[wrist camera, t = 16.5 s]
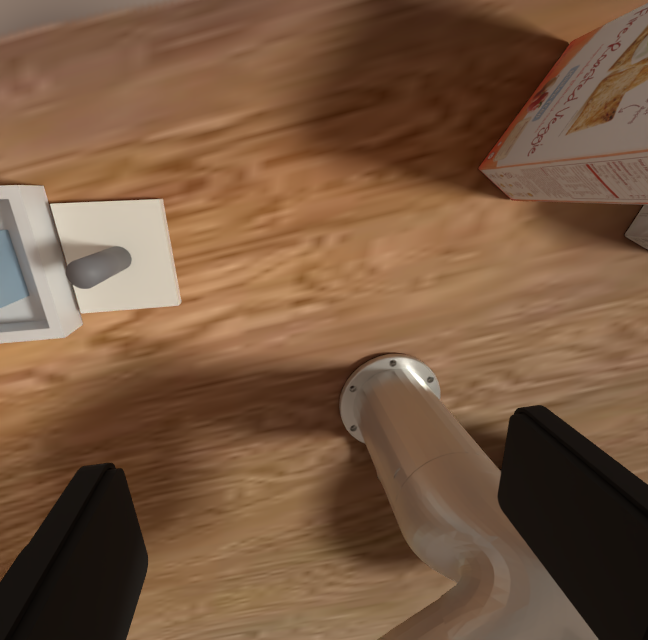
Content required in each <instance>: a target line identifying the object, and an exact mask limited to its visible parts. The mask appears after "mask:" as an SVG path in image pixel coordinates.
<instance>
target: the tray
mask: <svg viewBox="0 0 648 640" xmlns="http://www.w3.org/2000/svg"><path fill="white" fill-rule="evenodd" d="M0 230H8V231H9V234H10V237H11V240H12V244H13V247H14V250H15V253H16V256H17V259H18V262H19V265H20V268H21V271H22V274H23V277H24V280H25V283H26V286H27V289H28V292H29V295H30V296H27V297H25V298H23V299H21V300H18V301H16V302H14V303H11V304H9V305H7V306H5V307H2V308H0V343H10V342H21V341H32V340H44V339H55V338H65V337H67V336H68V335H69V334H71V333H72V332H73V331H75V330H76V329H78V328H79V327H80V326H82V325H83V322H82V319H81V315H80V312H79V308H78V305H77V301H76V298H75V294H74V291H73V287H72V284H71V283H70V282H69V280H68V279H67V276H66V268H67V266H66V263H65V259H64V256H63V252H62V249H61V245H60V242H59V238H58V234H57V231H56V227H55V224H54V220H53V217H52V213H51V210H50V206H49V203H48V199H47V196H46V192H45V189H44V186H33V185H4V186H0Z"/></svg>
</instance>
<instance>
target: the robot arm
mask: <svg viewBox="0 0 648 640" xmlns="http://www.w3.org/2000/svg"><path fill="white" fill-rule="evenodd" d="M391 360H392V361H391ZM390 361H391V362H390ZM339 409H340V415H341V418H342V421H343V424H344V426H345V428H346V429H347V431H348V432H349V433H350V434H351V435H352V436H353V437H354V438H355V439H357V440H358V441H360V442H362V443H364V444H366V446H367V449H368V451H369V454H370V456H371V458H372V461H373V463H374V466H375V468H376V471H377V478H378V479H379V480H380V481H381V483H382V486H383V488H384V490H385V493H386V495H387V498H388V500H389V503H390V505H391V508H392V510H393V513H394V515H395V517H396V520H397V523H398V525H399V527H400V530H401V532H402V534H403V537H404V538H405V540H406V542H407V544H408V545H409V547H410V548H411V549H412V551H413V552H414V553H415V554H416V555H417V556H418V557H419V558H420V559H421V560H422V561H423V562H424V563H425V564H427V565H428V566H429V567H431V568H432V569H434V570H435V571H437V572H438V573H440V574H442V575H444V576H445V577H447V578H449V579H451V580H453V581H455V582H457V584H456V586H454V587H453V588H452V589H450V590H449V591H447V592H446V593H445V594H443V595H442V596H441V597H440V598H439V599H438V600H436V601H435V602H433V603H431V604H430V605H428V606H427V607H425V608H424V609H422V610H421V611H419V612H418V613H416V614H415V615H413V616H412V617H410V618H408V619H407V620H405V621H404V622H402V623H401V624H399V625H398V626H396V627H395V628H393V629H392V630H390V631H389V632H388V633H386V634H385V635H383V636H382V637H380V638H379V639H377V640H648V485H647V484H646V483H645V482H643V481H642V480H641V479H639V478H638V477H637V476H635V475H634V474H633V473H632V472H630V471H629V470H628V469H626V468H625V467H624V466H622V465H621V464H620V463H618V462H617V461H616V460H614V459H613V458H612V457H610V456H609V455H608V454H606V453H605V452H604V451H603V450H601V449H600V448H599V447H597V446H596V445H595V444H593V443H592V442H591V441H589V440H588V439H587V438H585V437H584V436H583V435H581V434H580V433H579V432H578V431H576V430H575V429H574V428H572V427H571V426H570V425H568V424H567V423H566V422H564V421H563V420H562V419H560V418H559V417H558V416H556V415H555V414H554V413H552V412H551V411H550V410H549V409H547V408H546V407H544V406H541V405H537V406H529V407H522V408H518V409H517V410H516V411H515V413H514V415H512V416H511V417H510V420H509V426H508V432H507V438H506V445H505V451H504V457H503V463H502V470H501V471H500V470H499V469H498V468H497V467H496V465H495V464H494V463H493V462H492V461H491V459H490V458H489V457H488V456H487V455H486V454H485V452H484V451H483V450H482V449H481V448H480V447H479V445H478V444H477V443H476V442H475V441H474V440H473V438H472V437H471V436H470V435H469V434H468V432H467V431H466V430H465V429H464V428H463V427H462V425H461V424H460V423H459V422H458V421H457V420H456V418H455V417H454V416H453V415H452V414H451V413H450V411H449V410H448V409H447V408H446V407H445V405H444V404H443V403H442V402H441V401H440V387H439V383H438V380H437V378H436V376H435V374H434V373H433V372H432V370H431V369H430V368H429V367H428V366H427V365H426V364H425V363H424V362H422V361H421V360H419V359H417V358H415V357H412V356H409V355H405V354H387V355H383V356H378V357H376V358H374V359H371V360H369V361H367V362H366V363H364V364H363V365H361V366H360V367H359V368H358V369H356V370H355V371H354V372H353V373H352V374H351V376H350V377H349V378H348V380H347V381H346V383H345V385H344V387H343V389H342V392H341V395H340V402H339ZM147 568H148V555H147V551H146V547H145V544H144V540H143V537H142V533H141V530H140V526H139V523H138V519H137V516H136V512H135V509H134V505H133V502H132V498H131V495H130V491H129V488H128V484H127V481H126V477H125V474H124V471H123V470H122V469H121V468H118V469H116V468H115V465H114V464H113V463H104V464H96V465H89V466H83V467H81V468H80V469H79V470H78V471H77V472H76V474H75V475H74V477H73V478H72V480H71V481H70V483H69V484H68V486H67V487H66V489H65V490H64V492H63V493H62V495H61V496H60V498H59V499H58V501H57V502H56V504H55V505H54V507H53V508H52V510H51V511H50V513H49V514H48V516H47V517H46V519H45V520H44V521H43V523H42V524H41V526H40V527H39V529H38V530H37V532H36V533H35V535H34V536H33V538H32V539H31V541H30V542H29V544H28V545H27V546H26V547H25V548H24V549H23V550H22V551H21V553H20V554H19V555H18V557H17V558H16V560H15V561H14V563H13V564H12V566H11V567H10V569H9V570H8V572H7V573H6V575H5V576H4V577H3V579H2V580H1V582H0V640H126V638H127V635H128V632H129V628H130V625H131V622H132V619H133V615H134V612H135V609H136V606H137V602H138V599H139V596H140V593H141V589H142V586H143V583H144V580H145V576H146V573H147Z"/></svg>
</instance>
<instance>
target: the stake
mask: <svg viewBox="0 0 648 640" xmlns="http://www.w3.org/2000/svg"><path fill="white" fill-rule="evenodd" d="M50 206H51V210H52V213H53V217H54V220H55V224H56V227H57V231H58V234H59V238H60V241H61V245H62V248H63V252H64V255H65V259H66V262H67V268H66V276H67V279H68V280H69V282H70V283H71V284H72V285H73V287H74V291H75V294H76V298H77V301H78V305H79V308H80V312H81V313H92V312H105V311H117V310H129V309H142V308H154V307H167V306H179V305H180V303H181V297H180V292H179V286H178V281H177V275H176V270H175V264H174V259H173V253H172V248H171V242H170V237H169V231H168V226H167V220H166V215H165V209H164V203H163V199H150V200H126V201H103V202H79V203H56V204H50Z"/></svg>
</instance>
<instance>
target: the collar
mask: <svg viewBox="0 0 648 640" xmlns="http://www.w3.org/2000/svg"><path fill="white" fill-rule="evenodd" d="M27 296H30V295H29V292H28V289H27V286H26V283H25V280H24V277H23V274H22V271H21V268H20V265H19V262H18V259H17V256H16V253H15V250H14V247H13V244H12V240H11V237H10V234H9V231H8V230H0V308H2V307H5V306H7V305H9V304H11V303H14V302H16V301H18V300H21V299H23V298H25V297H27Z"/></svg>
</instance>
